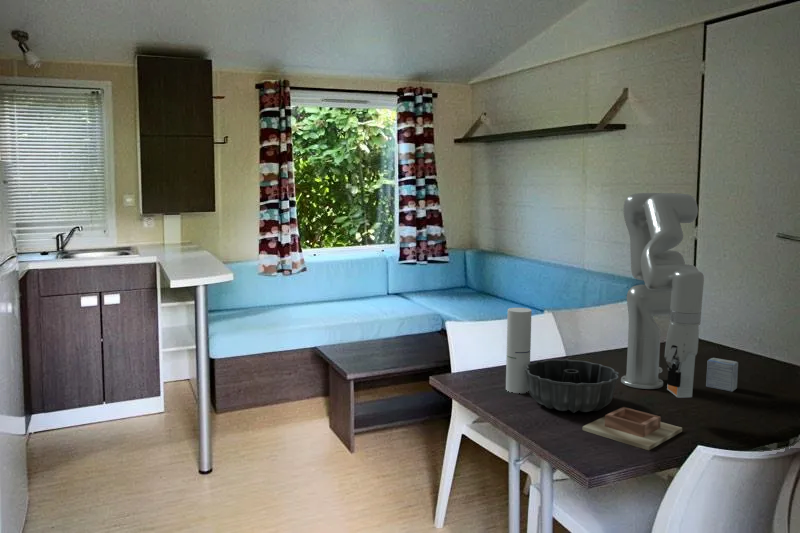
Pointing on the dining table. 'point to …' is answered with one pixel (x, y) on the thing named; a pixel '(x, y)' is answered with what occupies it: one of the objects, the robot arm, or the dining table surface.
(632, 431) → the collar board
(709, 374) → the medicine box
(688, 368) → the skincare box
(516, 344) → the cylindrical container
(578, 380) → the bundt pan
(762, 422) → the dining table surface
